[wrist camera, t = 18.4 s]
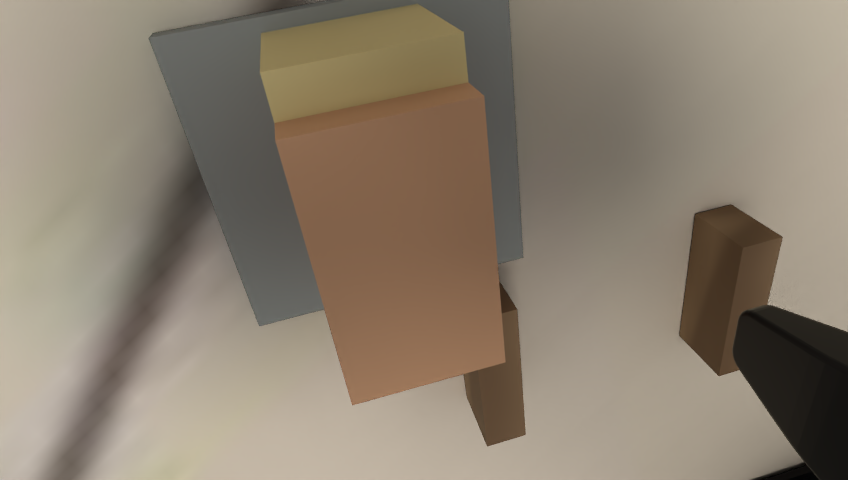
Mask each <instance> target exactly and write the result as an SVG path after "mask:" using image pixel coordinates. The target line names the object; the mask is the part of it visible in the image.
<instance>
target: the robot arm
mask: <svg viewBox="0 0 848 480" xmlns="http://www.w3.org/2000/svg"><path fill="white" fill-rule="evenodd" d="M732 354H733V358H734V361H735V363H736V365H737V367H738V368H739V370H740V371H741V373H742V374H743V376H744V377H745V379H746V380H747V381H748V383H749V384H750V386H751V387H752V389H753V390H754V392H755V393H756V395H757V396H758V397H759V399H760V400H761V402H762V403H763V405H764V406H765V408H766V409H767V411H768V412H769V414H770V415H771V416H772V418H773V419H774V421H775V422H776V424H777V425H778V427H779V428H780V430H781V431H782V432H783V434H784V435H785V437H786V438H787V440H788V441H789V442H790V444H791V445H792V446H793V448H794V449H795V451H796V452H797V453H798V454H799V456H800V457H801V458H802V459H803V461H804V462H805V463H806V464H807V465H806V466H803V467H800V468H797V469H794V470H791V471H788V472H785V473H782V474H779V475H776V476H773V477H770V478H767V479H764V480H848V332H846V331H843V330H840V329H838V328H835V327H832V326H829V325H826V324H823V323H821V322H818V321H815V320H812V319H809V318H806V317H803V316H801V315H798V314H795V313H792V312H789V311H786V310H784V309H781V308H778V307H775V306H771V305H762V306H759V307H755V308H752V309H748V310H745V311H743V312H742V313H741V314H740V316H739V318H738V323H737V328H736V333H735V338H734V342H733V347H732Z"/></svg>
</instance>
